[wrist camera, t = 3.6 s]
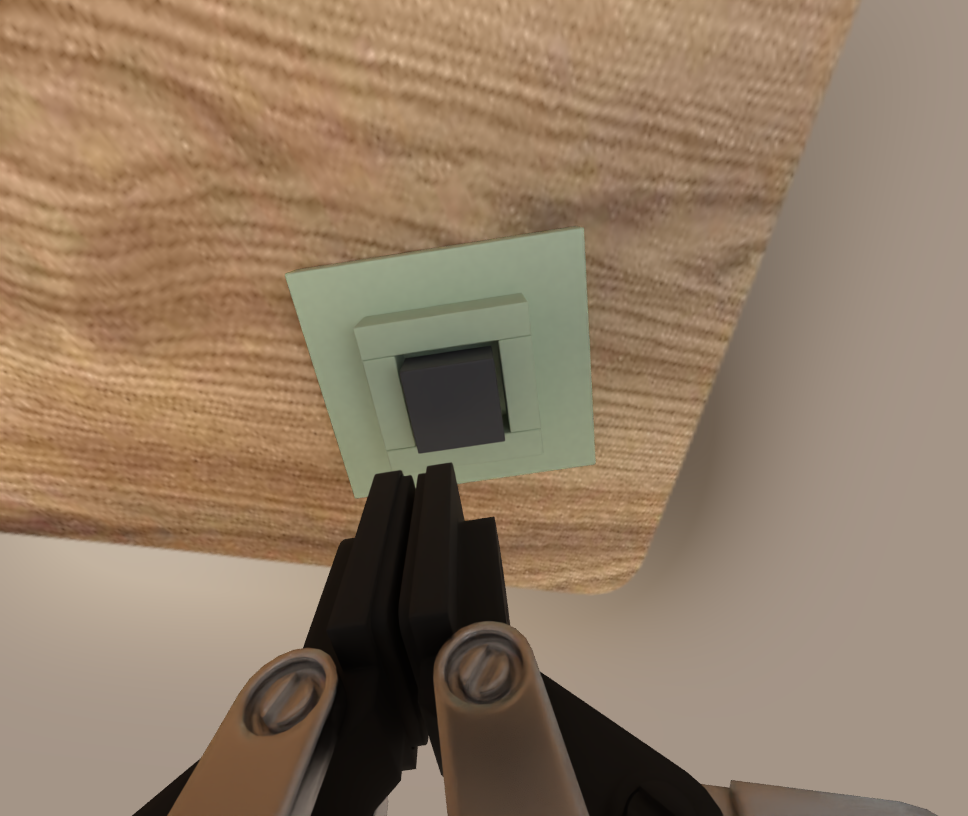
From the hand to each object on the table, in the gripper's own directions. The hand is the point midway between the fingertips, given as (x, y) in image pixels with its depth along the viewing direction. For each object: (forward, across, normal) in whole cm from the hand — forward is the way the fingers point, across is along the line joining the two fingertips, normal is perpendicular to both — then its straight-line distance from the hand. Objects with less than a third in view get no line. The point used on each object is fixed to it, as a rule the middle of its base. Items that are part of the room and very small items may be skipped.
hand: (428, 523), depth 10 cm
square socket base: (+10, -1, 0) cm, 10 cm away
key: (+8, -1, 0) cm, 8 cm away
